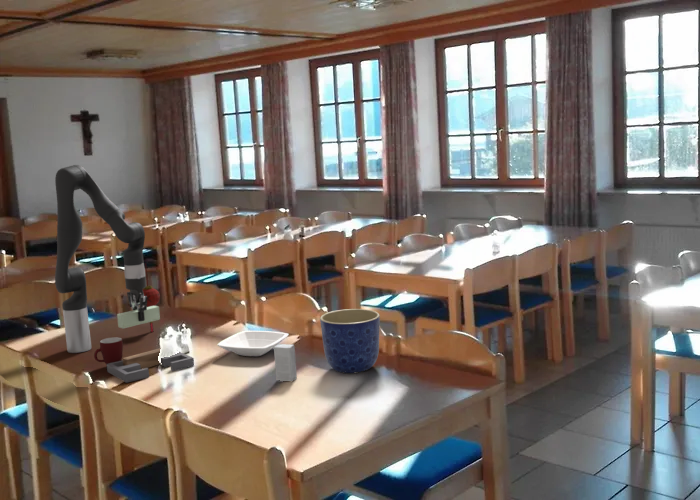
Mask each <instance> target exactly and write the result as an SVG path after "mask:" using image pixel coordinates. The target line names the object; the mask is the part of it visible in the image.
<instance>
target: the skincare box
mask: <svg viewBox="0 0 700 500" xmlns="http://www.w3.org/2000/svg"><path fill="white" fill-rule="evenodd" d="M273 352H274V353H273V354H274V366H275V381H276V380H280V381H279V382H283V381H293V380H294V381H295V380H297V377H298V376H297V362H296V351H295V344H285V343H282V344H281V343H279V344H278V345H277V346H275V347H273ZM294 381H293V382H294Z"/></svg>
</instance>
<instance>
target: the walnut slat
mask: <svg viewBox="0 0 700 500" xmlns="http://www.w3.org/2000/svg"><path fill="white" fill-rule="evenodd" d="M161 348H162V347H159V348H156V349H152V350H148V351H145V352H141V353H137V354H134V355H129V356H126V357H122V360H123V366H125V365H129V364H133V363H138V364H140V365H141V369H144V368H150V367H151V368H152V367H154V366H158V365H160V364H159V361H158V356H159V353H160V349H161Z"/></svg>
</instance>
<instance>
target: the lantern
mask: <svg viewBox="0 0 700 500" xmlns="http://www.w3.org/2000/svg"><path fill="white" fill-rule="evenodd" d="M144 266H147V263H144ZM145 276H148V271H147V268H145ZM143 293H144V296H147V307H150V306H157V304H159V302H160V301H161V300H160V299H161V295H160V292H159V291H158V289H156V288H154V287H153V285H149V279H148V278H146V287H145V288H143ZM149 326H150V333H154V321H152V322H149Z"/></svg>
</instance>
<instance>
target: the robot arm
mask: <svg viewBox="0 0 700 500" xmlns="http://www.w3.org/2000/svg"><path fill="white" fill-rule="evenodd" d="M54 179H55V181H54V182H55V183H54V185H55V191H56V192H55V193H56V203H57V204H56V205H57V225H56V228H57V229H56V231H57V232H56V241H57V243H56V244H57V245H56V247H57V250H56V264H55V272H54V283H55V288H56V290H57V292H58V293H60V294H67V293H72V294H71V296H70V297H69V298H67V299H66V300H64V301H63V302H62V304H61V305H62V307H61V308H62V314H63V322H64V331H65V340H66V349H67V352H68V353H70V354H77V353H78V354H79V353H84V352H88V351H90V350H91V349H92V339H91V332H90V323H89V322H90V321H89V315H88V314H89V312H88V305H87V304H88V291H87V277H86V273H85V271H84V270H83V268H81V267H79V266H77V267H72V268H71V267H70V268H69V266H70V262H71V259H72V257H73V256H74V254H75V253H76V251H77V250H78V248H79V246H80V244H81V243H82V240H83V221H82V218H81V217H80V215H79V213H78V211H77V210H76V207H75V203H74V196H75V195H74V194H75V191H78V190H82V191H83V192H84V193H86V194H87V196H88V197H89V198H90V200H91V202H92V205H93V207H94V208H93V209H94V211H95V212H96V213H97V215H98V216H99V217H100V218H101V219H102V220H103V221H104V222H105V223H106V224H107V225H108V226H109V227H110V228H111V230H112V232H113V233H114V235H115V236H116V238H117V240H119V241H120V242H122V243H125V244H128V245H127V248H126V249H124V251H123V261H124V263H123V264H124V269H123V270H124V271H123V273H124V280H125V282H124V283H125V288H126V289H125V290H129V291H127V292H126V294H127V301H128V304H129V307H130V308H131V311H133V310H137V311H138V320H139V321H144V320H145V318H144V311H145V310H147V296H144V293H143V288H145V287H146V286H147V275H146V267H145V263H144V254H143V253H144V252H143V250H144V247H145V236H146V233H145V228H144V226H143V225H142V224H141V223H139V222H136V221H135V222H134V221H133V222H130V223H127V222H126V221H125V219H126V215H125V213H124V211H122V209H120V208H119V207H118V206H117V205H116V204H115V203H114V202H113V201H111V200H110V198H109V197H108V196H107V194H105V192H104V191H103V190H102V188H101V187H100V186H99V185H98V184H97V182H96V180H94V178H93V177H92V175H91V174H90V173H89V172H88V171H87V170H86V169H85V167H83V166H82V165H79V164H73V165H69V166H65V167H62V168H60V169H58V170H57V172H56V173H55V178H54Z"/></svg>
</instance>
